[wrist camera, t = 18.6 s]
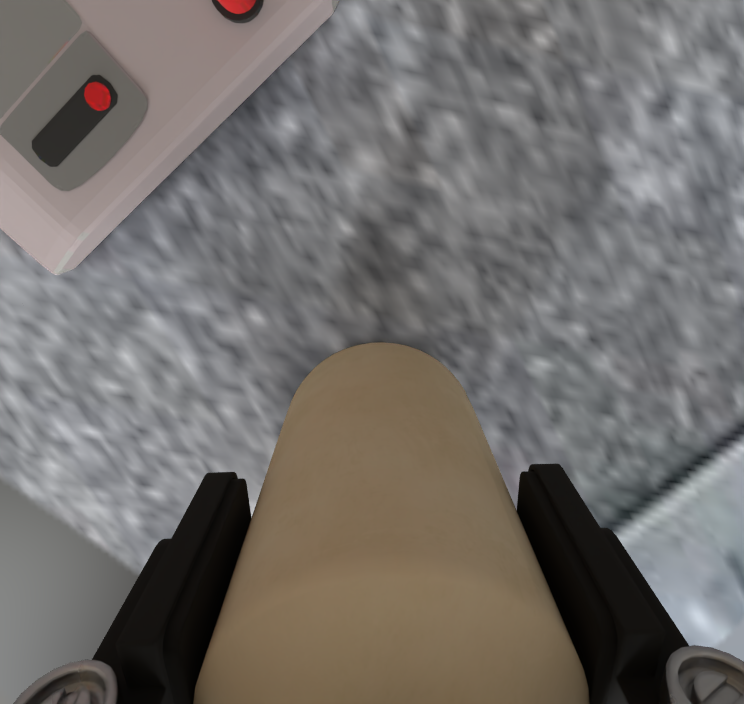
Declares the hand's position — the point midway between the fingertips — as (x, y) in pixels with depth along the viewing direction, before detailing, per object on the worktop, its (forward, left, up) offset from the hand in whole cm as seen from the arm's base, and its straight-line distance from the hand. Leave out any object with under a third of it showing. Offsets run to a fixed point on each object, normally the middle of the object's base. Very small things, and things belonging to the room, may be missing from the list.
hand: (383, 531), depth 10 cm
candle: (0, 0, -5) cm, 5 cm away
